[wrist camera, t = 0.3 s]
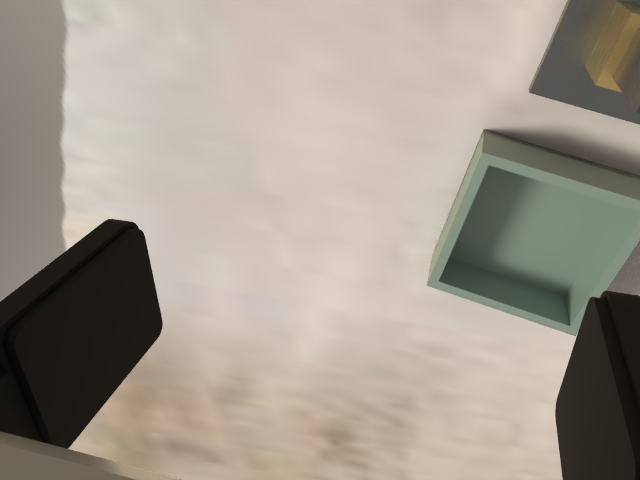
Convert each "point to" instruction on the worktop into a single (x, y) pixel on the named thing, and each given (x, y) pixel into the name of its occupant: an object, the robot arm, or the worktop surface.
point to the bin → (536, 232)
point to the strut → (619, 54)
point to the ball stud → (580, 61)
